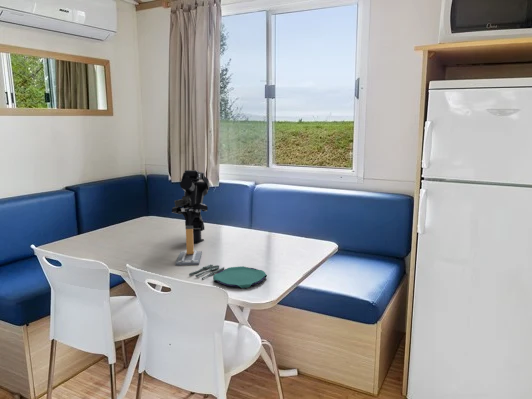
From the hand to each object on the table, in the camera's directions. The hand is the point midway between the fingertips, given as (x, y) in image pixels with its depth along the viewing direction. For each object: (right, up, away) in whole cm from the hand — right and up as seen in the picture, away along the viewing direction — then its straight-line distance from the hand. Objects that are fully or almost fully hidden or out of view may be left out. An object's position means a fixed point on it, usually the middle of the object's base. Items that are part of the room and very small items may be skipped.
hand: (188, 226), depth 197 cm
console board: (+3, -14, -11) cm, 18 cm away
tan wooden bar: (+2, -12, -8) cm, 14 cm away
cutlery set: (+23, -19, -32) cm, 44 cm away
